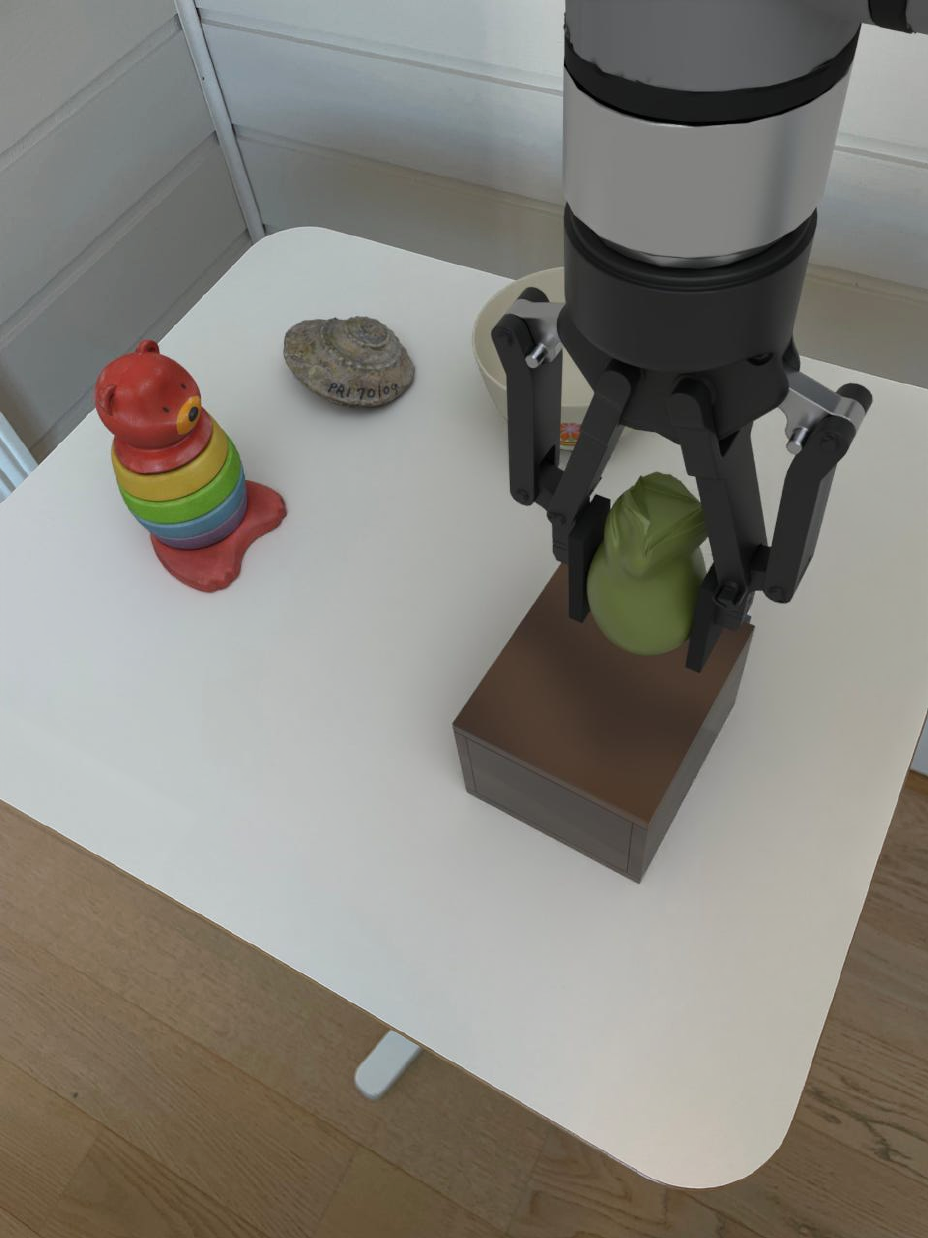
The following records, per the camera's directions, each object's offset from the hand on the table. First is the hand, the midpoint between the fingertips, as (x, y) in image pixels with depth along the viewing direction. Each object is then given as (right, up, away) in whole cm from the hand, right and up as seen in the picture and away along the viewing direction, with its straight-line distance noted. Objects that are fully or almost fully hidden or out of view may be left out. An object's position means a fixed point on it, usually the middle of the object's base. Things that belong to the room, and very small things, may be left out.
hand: (644, 623), depth 49 cm
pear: (0, 0, 0) cm, 1 cm away
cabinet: (+1, -9, +20) cm, 21 cm away
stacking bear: (-30, +7, +34) cm, 46 cm away
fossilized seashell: (-19, +22, +43) cm, 52 cm away
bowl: (+1, +17, +37) cm, 40 cm away
